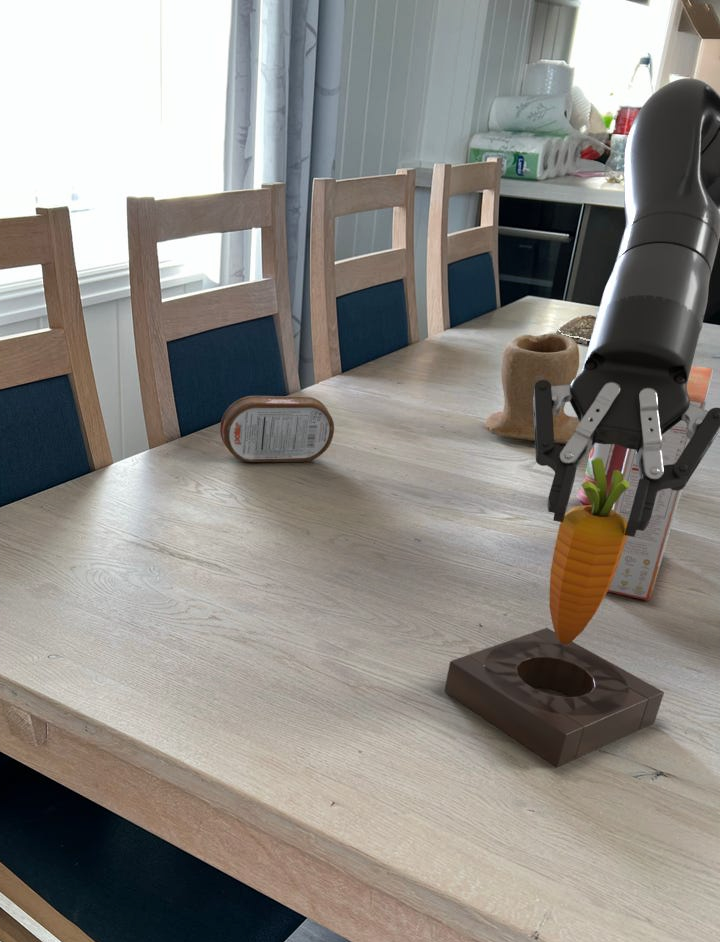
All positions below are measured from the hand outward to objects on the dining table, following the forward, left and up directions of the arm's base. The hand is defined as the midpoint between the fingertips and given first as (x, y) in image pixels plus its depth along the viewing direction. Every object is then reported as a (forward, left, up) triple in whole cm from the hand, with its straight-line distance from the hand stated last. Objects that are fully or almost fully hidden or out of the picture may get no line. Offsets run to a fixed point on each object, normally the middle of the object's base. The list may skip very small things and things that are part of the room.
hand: (594, 523), depth 70 cm
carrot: (-2, -1, -11) cm, 11 cm away
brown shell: (-124, -95, -17) cm, 158 cm away
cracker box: (-31, -15, -17) cm, 38 cm away
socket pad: (-1, -1, -17) cm, 17 cm away
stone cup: (-57, -51, -17) cm, 79 cm away
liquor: (-43, -28, -17) cm, 54 cm away
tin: (-16, -60, -17) cm, 65 cm away
